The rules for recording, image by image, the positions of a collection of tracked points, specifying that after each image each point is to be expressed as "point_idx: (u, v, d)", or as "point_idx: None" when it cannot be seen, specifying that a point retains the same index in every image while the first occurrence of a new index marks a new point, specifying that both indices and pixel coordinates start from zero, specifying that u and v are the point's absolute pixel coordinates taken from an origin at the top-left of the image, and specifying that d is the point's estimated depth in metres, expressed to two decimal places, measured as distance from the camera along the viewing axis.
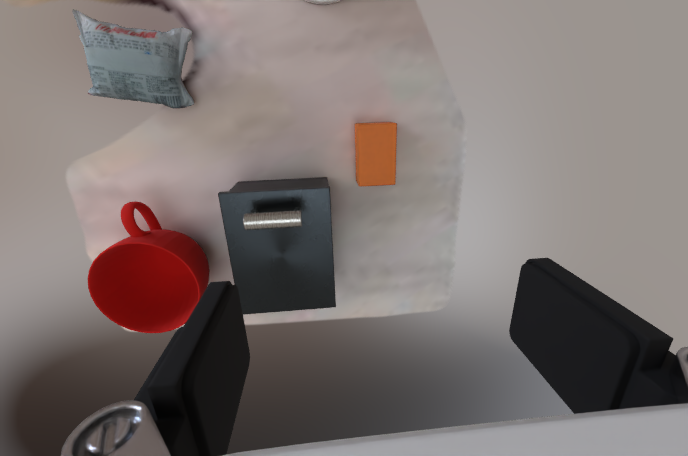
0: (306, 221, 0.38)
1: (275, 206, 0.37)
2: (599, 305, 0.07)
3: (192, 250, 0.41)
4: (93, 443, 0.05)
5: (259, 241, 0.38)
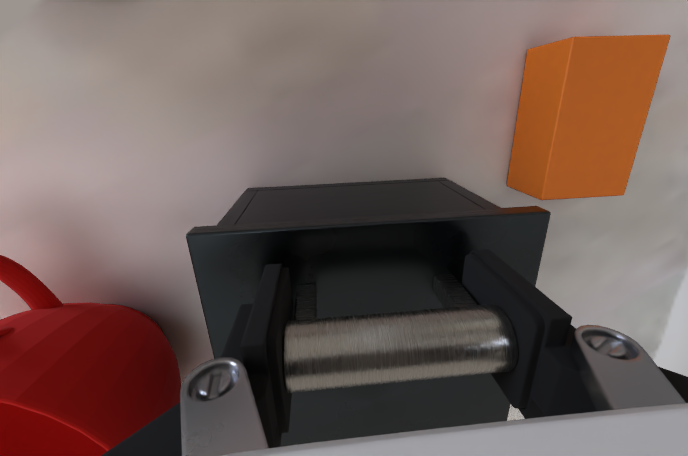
0: None
1: (373, 273, 0.11)
2: (518, 290, 0.08)
3: (129, 370, 0.16)
4: (203, 389, 0.06)
5: None
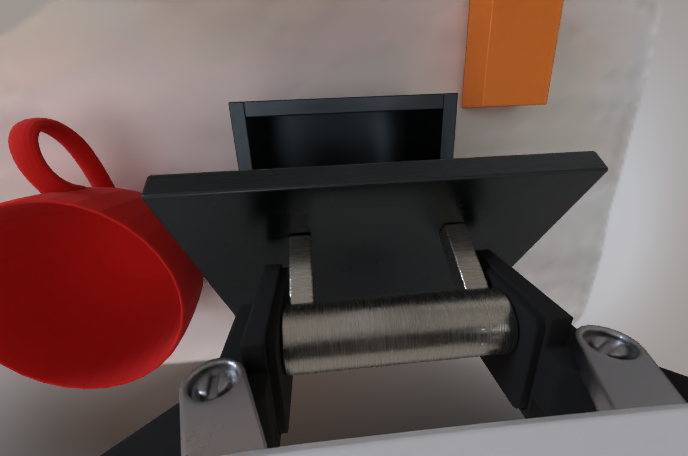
0: None
1: (376, 225, 0.10)
2: (519, 290, 0.08)
3: None
4: (202, 390, 0.06)
5: None
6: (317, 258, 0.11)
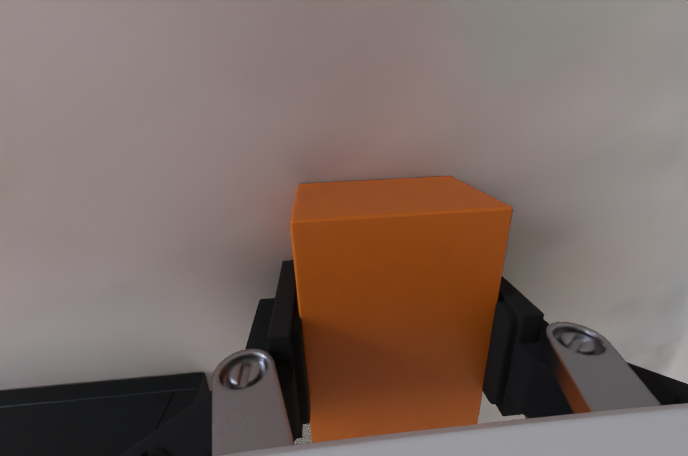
0: None
1: None
2: None
3: None
4: (233, 379, 0.06)
5: None
6: None
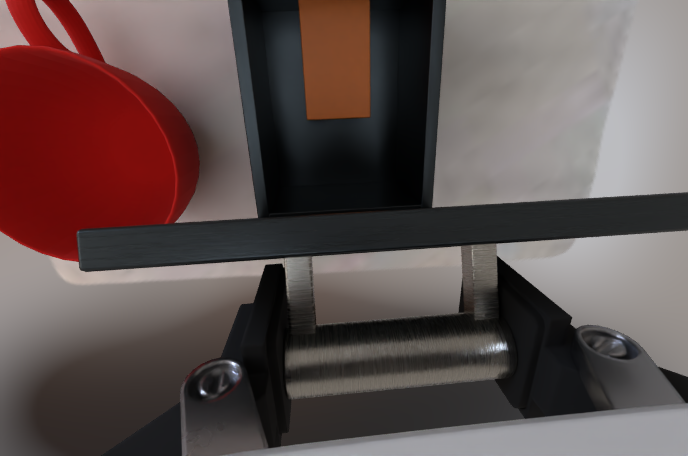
0: None
1: None
2: (518, 289, 0.08)
3: (165, 102, 0.21)
4: (203, 389, 0.06)
5: None
6: None
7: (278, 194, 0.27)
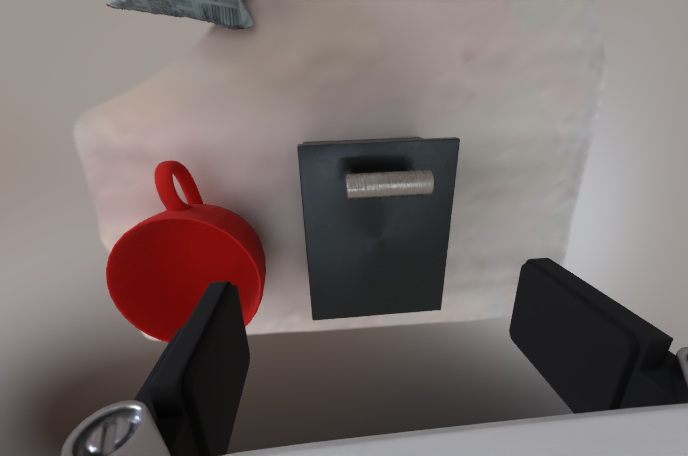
0: None
1: (378, 167, 0.25)
2: (599, 305, 0.07)
3: (248, 231, 0.30)
4: (93, 443, 0.05)
5: (349, 218, 0.26)
6: None
7: None
